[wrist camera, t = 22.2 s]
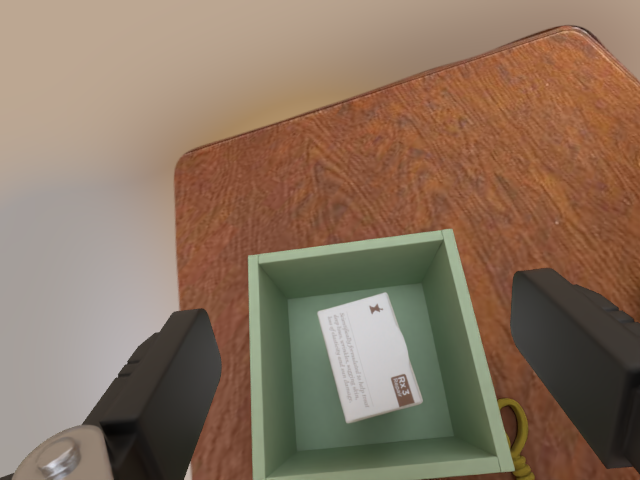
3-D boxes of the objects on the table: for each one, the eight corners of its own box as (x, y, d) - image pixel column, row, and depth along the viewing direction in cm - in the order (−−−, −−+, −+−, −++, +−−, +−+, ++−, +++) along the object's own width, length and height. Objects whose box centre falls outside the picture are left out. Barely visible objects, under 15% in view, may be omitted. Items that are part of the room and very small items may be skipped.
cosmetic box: (330, 338, 32) (308, 307, 21) (380, 324, 32) (386, 285, 21) (350, 416, 29) (337, 427, 18) (405, 400, 29) (426, 402, 18)
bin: (427, 276, 33) (452, 228, 24) (463, 444, 28) (515, 471, 19) (280, 294, 34) (247, 255, 25) (290, 460, 29) (252, 494, 19)
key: (614, 567, 24) (543, 599, 23) (603, 559, 25) (535, 589, 25) (508, 381, 28) (449, 406, 28) (503, 381, 30) (446, 406, 29)
